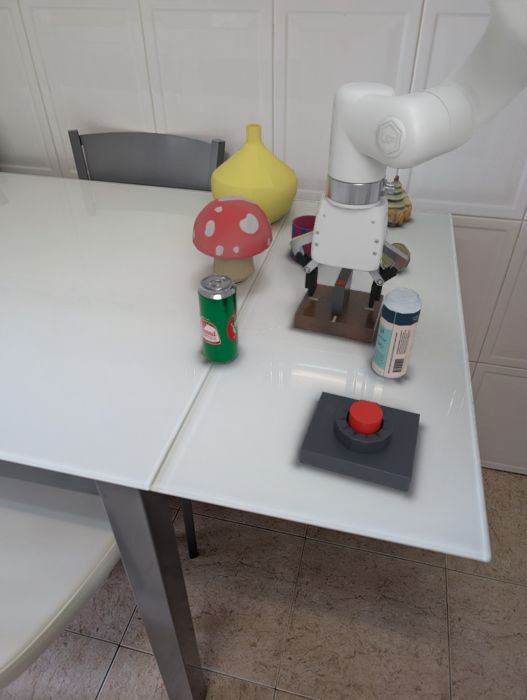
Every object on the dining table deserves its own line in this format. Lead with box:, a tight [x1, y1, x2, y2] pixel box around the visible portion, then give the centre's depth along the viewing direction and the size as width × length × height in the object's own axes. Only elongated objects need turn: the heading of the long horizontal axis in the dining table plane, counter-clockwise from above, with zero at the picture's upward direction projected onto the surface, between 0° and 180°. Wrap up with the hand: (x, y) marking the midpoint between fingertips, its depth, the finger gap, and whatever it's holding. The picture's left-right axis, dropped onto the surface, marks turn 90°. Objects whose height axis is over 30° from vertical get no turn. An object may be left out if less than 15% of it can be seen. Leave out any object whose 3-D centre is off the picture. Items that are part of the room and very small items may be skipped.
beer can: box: [371, 287, 423, 379], centre depth 65 cm, size 5×5×12 cm
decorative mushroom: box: [192, 196, 274, 284], centre depth 83 cm, size 13×13×15 cm
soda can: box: [197, 273, 240, 365], centre depth 68 cm, size 5×5×12 cm
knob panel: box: [293, 283, 385, 344], centre depth 78 cm, size 12×10×3 cm
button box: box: [299, 391, 421, 492], centre depth 57 cm, size 12×10×4 cm
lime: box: [381, 242, 411, 272], centre depth 90 cm, size 4×5×5 cm
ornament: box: [384, 174, 413, 227], centre depth 105 cm, size 8×6×10 cm
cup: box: [290, 214, 316, 263], centre depth 92 cm, size 7×10×7 cm
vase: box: [210, 123, 299, 225], centre depth 103 cm, size 18×18×19 cm
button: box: [348, 399, 383, 434], centre depth 55 cm, size 4×4×2 cm
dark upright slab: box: [331, 268, 354, 315], centre depth 76 cm, size 6×2×5 cm, turn 161°
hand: (341, 297), depth 77 cm, fingers open, 9 cm apart
